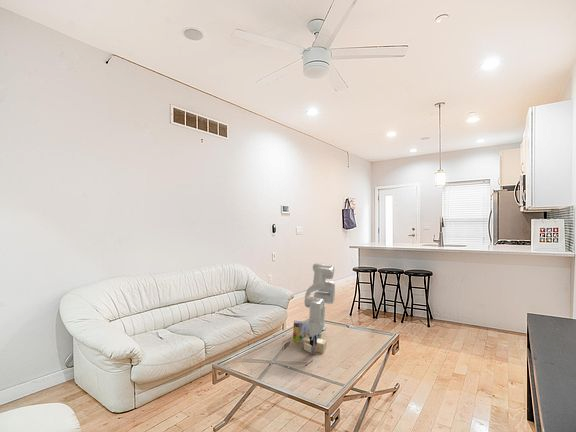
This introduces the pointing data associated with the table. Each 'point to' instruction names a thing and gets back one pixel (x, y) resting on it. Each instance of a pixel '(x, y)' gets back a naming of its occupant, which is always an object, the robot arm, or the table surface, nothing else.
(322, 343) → the carton
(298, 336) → the snack box
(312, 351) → the flap
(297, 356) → the table surface
